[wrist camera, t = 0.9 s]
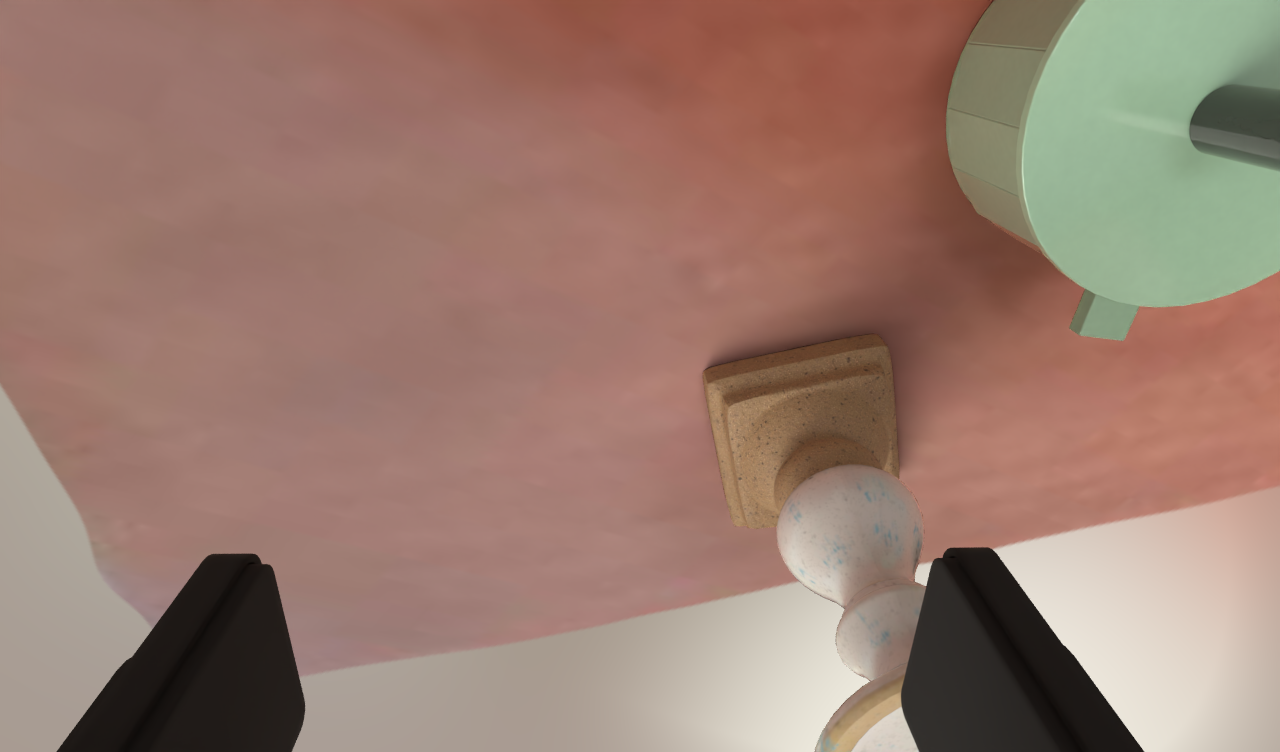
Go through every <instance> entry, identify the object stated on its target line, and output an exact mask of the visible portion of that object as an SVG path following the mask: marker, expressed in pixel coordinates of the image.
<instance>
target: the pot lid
mask: <svg viewBox="0 0 1280 752" xmlns="http://www.w3.org/2000/svg"><path fill="white" fill-rule="evenodd" d="M1016 178H1017V188H1018V195H1019V199H1020V203H1021V207H1022V211H1023V215H1024V218H1025V221H1026V223H1027V225H1028V228H1029V230H1030V232H1031V235H1032V237H1033V238H1034V240H1035V242H1036V243H1037V245H1038V246H1039V248H1040V250H1041V251H1042V253H1043V254H1044V255H1045V256H1046V258H1047V259H1048V260H1049V261H1050V262H1051V263H1052V264H1053V265H1054V266H1055V268H1056V269H1057V270H1059V271H1060V272H1061V273H1062V274H1064V275H1065V276H1066V277H1067V278H1069V279H1070V280H1071V281H1073V282H1074V283H1076V284H1078V285H1079V286H1081V287H1083V288H1085V289H1087V290H1088V291H1090V292H1092V293H1094V294H1096V295H1098V296H1101V297H1104V298H1107V299H1109V300H1112V301H1115V302H1119V303H1124V304H1129V305H1135V306H1146V307H1170V306H1184V305H1189V304H1194V303H1200V302H1205V301H1209V300H1212V299H1216V298H1219V297H1222V296H1226V295H1229V294H1232V293H1234V292H1237V291H1239V290H1241V289H1244V288H1246V287H1249V286H1251V285H1254V284H1256V283H1258V282H1259V281H1261V280H1263V279H1265V278H1267V277H1269V276H1271V275H1273V274H1275V273H1276V272H1278V271H1280V0H1078V1H1077V3H1076V4H1075V5H1074V6H1073V7H1072V9H1071V10H1070V12H1069V13H1068V15H1067V16H1066V18H1065V19H1064V21H1063V22H1062V24H1061V25H1060V27H1059V28H1058V30H1057V31H1056V33H1055V34H1054V36H1053V38H1052V40H1051V42H1050V44H1049V46H1048V48H1047V49H1046V51H1045V53H1044V55H1043V57H1042V59H1041V61H1040V63H1039V65H1038V68H1037V70H1036V73H1035V75H1034V78H1033V80H1032V83H1031V85H1030V88H1029V90H1028V94H1027V97H1026V101H1025V104H1024V108H1023V111H1022V115H1021V119H1020V126H1019V132H1018V138H1017V145H1016Z"/></svg>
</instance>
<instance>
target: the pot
mask: <svg viewBox="0 0 1280 752" xmlns="http://www.w3.org/2000/svg"><path fill="white" fill-rule="evenodd" d="M1077 1H1078V0H994V1H993V2H992V3H991V5H990V6H989V7H988V9H987V10H986V11H985V12H984V14H983V15H982V17H981V19H980V20H979V22H978V23H977V25H976V27H975V28H974V30H973V31H972V33H971V35H970V37H969V39H968V41H967V43H966V45H965V47H964V49H963V51H962V53H961V56H960V59H959V61H958V64H957V67H956V70H955V72H954V75H953V79H952V84H951V88H950V92H949V96H948V104H947V113H946V139H947V146H948V153H949V158H950V161H951V165H952V168H953V172H954V174H955V177H956V179H957V181H958V183H959V186H960V188H961V190H962V191H963V193H964V194H965V196H966V197H967V199H968V200H969V202H970V203H971V204H972V205H973V206H974V208H975V210H976V212H977V213H978V214H979V215H981V216H982V217H984V218H985V219H987V220H988V221H990V222H991V223H992V224H994V225H995V226H997V227H999V228H1000V229H1002V230H1003V231H1005V232H1006V233H1008V234H1009V235H1011V236H1012V237H1014V238H1015V239H1017V240H1018V241H1020V242H1022V243H1024V244H1026V245H1027V246H1029V247H1031V248H1033V249H1035V250H1036V251H1038V252H1040V253H1042V251H1041V250H1040V248H1039V246H1038V245H1037V243H1036V242H1035V240H1034V238H1033V237H1032V235H1031V232H1030V230H1029V228H1028V225H1027V223H1026V221H1025V218H1024V215H1023V211H1022V207H1021V203H1020V199H1019V195H1018V188H1017V178H1016V145H1017V138H1018V132H1019V126H1020V119H1021V115H1022V111H1023V108H1024V104H1025V101H1026V97H1027V94H1028V90H1029V88H1030V85H1031V83H1032V80H1033V78H1034V75H1035V73H1036V70H1037V68H1038V65H1039V63H1040V61H1041V59H1042V57H1043V55H1044V53H1045V51H1046V49H1047V48H1048V46H1049V44H1050V42H1051V40H1052V38H1053V36H1054V34H1055V33H1056V31H1057V30H1058V28H1059V27H1060V25H1061V24H1062V22H1063V21H1064V19H1065V18H1066V16H1067V15H1068V13H1069V12H1070V10H1071V9H1072V7H1073V6H1074V5H1075V4H1076V3H1077ZM1042 254H1043V253H1042ZM1043 255H1044V254H1043ZM1138 309H1139V306H1135V305H1129V304H1124V303H1119V302H1115V301H1112V300H1109V299H1107V298H1104V297H1101V296H1098V295H1096V294H1094V293H1092V292H1090V291H1088V290H1087V289H1085V291H1084V293H1083V295H1082V298H1081V300H1080V303H1079V305H1078V307H1077V310H1076V312H1075V314H1074V317H1073V319H1072V322H1071V324H1070V326H1069V329H1071V330H1072V331H1074V332H1075V333H1077V334H1078V335H1080V336H1087V337H1095V338H1104V339H1112V340H1120V341H1123V340H1124V339H1125V337H1126V335H1127V333H1128V331H1129V328H1130V326H1131V324H1132V322H1133V320H1134V317H1135V315H1136V313H1137V311H1138Z"/></svg>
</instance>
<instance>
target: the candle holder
mask: <svg viewBox="0 0 1280 752" xmlns="http://www.w3.org/2000/svg"><path fill="white" fill-rule="evenodd" d="M703 382H704V389H705V397H706V402H707V407H708V412H709V417H710V422H711V427H712V432H713V438H714V443H715V448H716V453H717V458H718V463H719V468H720V473H721V478H722V483H723V489H724V493H725V497H726V500H727V504H728V508H729V512H730V515H731V519H732V521H733V523H734V525H735V526H746V525H747V527H748V528H755V529H759V528H768V527H776V526H777V530H776V534H777V543H778V547H779V551H780V555H781V557H782V559H783V561H784V563H785V564H786V566H787V568H788V569H789V570H790V572H791V573H792V574H793V576H794V577H795V578H796V579H797V580H798V581H799V582H801V583H802V584H803V585H804V586H805V587H807V588H808V589H810V590H811V591H813V592H814V593H816V594H818V595H820V596H822V597H824V598H826V599H828V600H830V601H833V602H835V603H837V604H839V605H840V606H841V607H843V608H844V609H845V610H844V612H843V615H842V618H841V620H840V622H839V625H838V627H837V633H836V646H837V650H838V653H839V655H840V657H841V659H842V661H843V662H844V663H845V665H846V666H848V667H849V668H850V669H851V670H852V671H854V672H855V673H856V674H858V675H860V676H862V677H865V678H867V679H868V680H869V681H870V682H869V683H867V684H865V685H864V686H862V687H861V688H860V689H859V690H858V691H857V692H855V693H854V694H853V695H852V696H851V697H849V698H848V699H847V700H846V701H845V702H844V703H843V704H842V705H841V707H840V708H839V709H838V710H837V711H836V712H835V713H834V714H833V716H832V717H831V719H830V720H829V722H828V723H827V725H826V727H825V728H824V730H823V731H822V733H821V735H820V738H819V740H818V743H817V745H816V747H815V752H919V750H918V748H917V746H916V743H915V741H914V739H913V736H912V734H911V732H910V729H909V727H908V725H907V722H906V720H905V717H904V714H903V710H902V705H901V689H902V685H903V681H904V677H905V673H906V668H907V664H908V660H909V656H910V652H911V648H912V644H913V640H914V635H915V631H916V627H917V623H918V619H919V615H920V611H921V607H922V602H923V598H924V594H925V590H926V586H923V585H921V584H919V583H916V582H915V572H916V569H917V567H918V564H919V561H920V558H921V554H922V550H923V545H924V534H925V530H924V521H923V515H922V512H921V510H920V507H919V504H918V502H917V500H916V498H915V497H914V495H913V494H912V492H911V491H910V490H909V488H908V487H907V486H906V485H905V484H904V483H903V482H902V481H901V480H899V458H898V443H897V429H896V414H895V399H894V384H893V371H892V364H891V358H890V352H889V349H888V346H887V345H886V344H885V342H884V341H883V340H882V339H881V337H880V336H879V335H878V334H868V335H861V336H855V337H849V338H844V339H839V340H834V341H830V342H825V343H820V344H815V345H811V346H806V347H801V348H796V349H791V350H787V351H782V352H777V353H772V354H768V355H763V356H758V357H753V358H748V359H744V360H739V361H734V362H730V363H726V364H722V365H718V366H714V367H711V368H708V369H706V370H705V371H704V372H703Z"/></svg>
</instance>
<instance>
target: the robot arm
mask: <svg viewBox="0 0 1280 752" xmlns="http://www.w3.org/2000/svg"><path fill="white" fill-rule="evenodd" d="M901 705H902V710H903V714H904V717H905V720H906V722H907V725H908V727H909V729H910V732H911V734H912V736H913V739H914V741H915V743H916V746H917V748H918V750H919V752H1144V751H1143V749H1142V748H1141V747H1140V745H1139V744H1138V743H1137V741H1136V740H1135V739H1134V737H1133V736H1132V734H1131V733H1130V732H1129V730H1128V729H1127V728H1126V726H1125V725H1124V724H1123V722H1122V721H1121V719H1120V718H1119V717H1118V715H1117V714H1116V713H1115V711H1114V710H1113V708H1112V707H1111V706H1110V705H1109V703H1108V702H1107V700H1106V699H1105V698H1104V696H1103V695H1102V694H1101V692H1100V691H1099V689H1098V688H1097V687H1096V685H1095V684H1094V682H1093V681H1092V680H1091V678H1090V677H1089V676H1088V674H1087V673H1086V672H1085V670H1084V669H1083V667H1082V666H1081V665H1080V663H1079V662H1078V661H1077V659H1076V658H1075V656H1074V655H1073V654H1072V653H1071V652H1070V651H1069V650H1068V649H1067V648H1066V647H1065V646H1064V645H1063V644H1062V643H1061V642H1060V640H1059V639H1058V637H1057V636H1056V635H1055V633H1054V632H1053V631H1052V629H1051V628H1050V626H1049V625H1048V624H1047V622H1046V621H1045V620H1044V619H1043V617H1042V615H1041V614H1040V613H1039V611H1038V610H1037V609H1036V607H1035V606H1034V604H1033V603H1032V602H1031V600H1030V599H1029V598H1028V596H1027V595H1026V593H1025V592H1024V591H1023V589H1022V588H1021V587H1020V585H1019V584H1018V582H1017V581H1016V580H1015V578H1014V577H1013V576H1012V574H1011V573H1010V572H1009V570H1008V569H1007V567H1006V566H1005V565H1004V563H1003V562H1002V560H1000V558H999V556H998V555H997V554H996V553H995V552H994V551H993V550H992V549H990V548H988V547H987V548H949V549H947V550H946V551H945V553H944V555H943V558H937V559H935V560H934V561H933V563H932V566H931V569H930V573H929V578H928V582H927V586H926V590H925V594H924V598H923V602H922V607H921V611H920V615H919V619H918V623H917V627H916V631H915V635H914V640H913V644H912V648H911V652H910V656H909V660H908V664H907V668H906V673H905V677H904V681H903V685H902V689H901ZM304 714H305V701H304V697H303V692H302V688H301V683H300V679H299V675H298V671H297V666H296V662H295V658H294V654H293V650H292V645H291V641H290V637H289V633H288V629H287V624H286V620H285V616H284V612H283V608H282V603H281V599H280V595H279V591H278V587H277V582H276V578H275V574H274V571H273V568H272V567H271V566H270V565H268V564H262V563H261V560H260V558H259V557H258V556H257V555H256V554H212V555H209V556H207V557H206V558H205V559H204V560H203V561H202V563H201V564H200V565H199V567H198V568H197V570H196V571H195V572H194V574H193V575H192V576H191V578H190V579H189V580H188V582H187V583H186V585H185V586H184V587H183V589H182V590H181V591H180V593H179V594H178V595H177V597H176V598H175V600H174V601H173V602H172V604H171V605H170V606H169V608H168V609H167V610H166V612H165V613H164V614H163V616H162V617H161V619H160V620H159V621H158V623H157V624H156V625H155V627H154V628H153V629H152V631H151V632H150V634H149V635H148V636H147V638H146V639H145V640H144V642H143V643H142V644H141V646H140V647H139V648H138V650H137V651H136V653H135V654H134V655H133V657H131V658H130V659H128V660H126V661H125V663H123V665H122V666H121V667H120V668H119V669H118V670H117V671H116V672H115V674H114V675H113V676H112V678H111V679H110V681H109V682H108V683H107V684H106V686H105V687H104V689H103V690H102V691H101V693H100V694H99V695H98V697H97V698H96V699H95V701H94V702H93V703H92V705H91V706H90V708H89V709H88V710H87V712H86V713H85V714H84V715H83V717H82V718H81V719H80V721H79V722H78V724H77V725H76V726H75V728H74V729H73V730H72V732H71V733H70V734H69V736H68V737H67V738H66V740H65V741H64V742H63V744H62V745H61V746H60V748H59V749H58V750H57V752H292V749H293V747H294V745H295V743H296V740H297V738H298V735H299V733H300V731H301V728H302V725H303V720H304Z"/></svg>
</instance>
